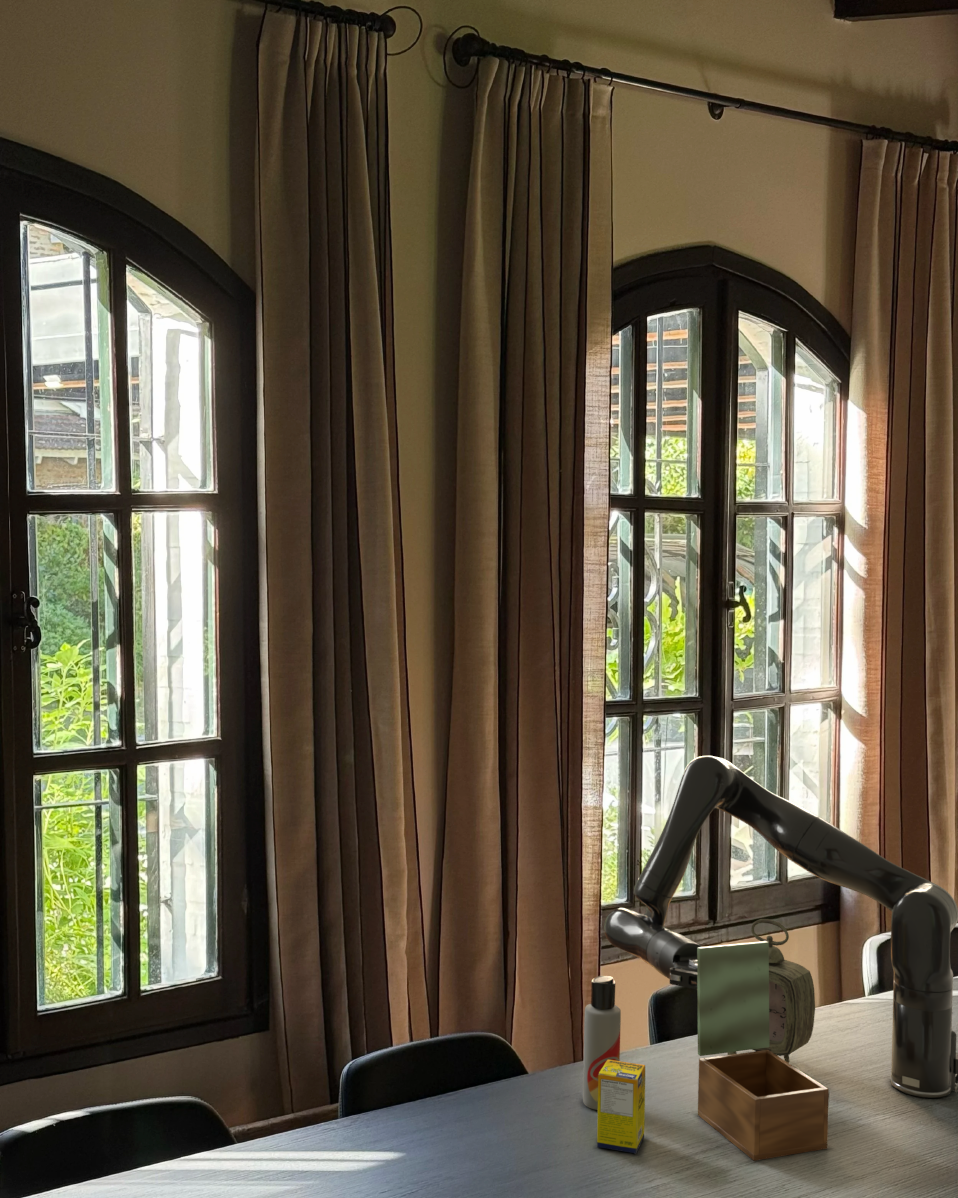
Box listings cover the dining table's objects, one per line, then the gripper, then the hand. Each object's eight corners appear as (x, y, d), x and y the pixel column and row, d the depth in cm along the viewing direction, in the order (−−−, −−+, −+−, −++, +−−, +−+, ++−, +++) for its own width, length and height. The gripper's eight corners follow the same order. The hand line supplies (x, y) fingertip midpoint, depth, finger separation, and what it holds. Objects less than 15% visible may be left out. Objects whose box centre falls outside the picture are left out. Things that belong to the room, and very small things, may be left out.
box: (827, 1149, 173) (829, 1089, 173) (754, 1161, 169) (755, 1100, 169) (766, 1104, 188) (768, 1049, 188) (697, 1115, 184) (698, 1058, 184)
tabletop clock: (717, 1059, 206) (720, 916, 206) (742, 1045, 213) (745, 906, 213) (794, 1083, 197) (798, 933, 197) (818, 1067, 203) (821, 922, 203)
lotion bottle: (617, 1113, 184) (620, 985, 184) (580, 1109, 185) (583, 981, 185) (620, 1098, 189) (623, 973, 189) (584, 1094, 190) (587, 970, 190)
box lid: (768, 942, 188) (765, 941, 189) (699, 948, 184) (697, 947, 185) (769, 1047, 188) (766, 1045, 188) (700, 1056, 183) (697, 1054, 184)
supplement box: (644, 1137, 176) (646, 1064, 176) (636, 1155, 170) (638, 1079, 170) (605, 1130, 178) (607, 1058, 178) (596, 1148, 172) (597, 1073, 172)
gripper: (643, 939, 201) (696, 970, 184) (711, 933, 205) (768, 963, 189) (642, 983, 201) (694, 1018, 184) (710, 976, 205) (767, 1010, 189)
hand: (732, 990), depth 187 cm, fingers closed
